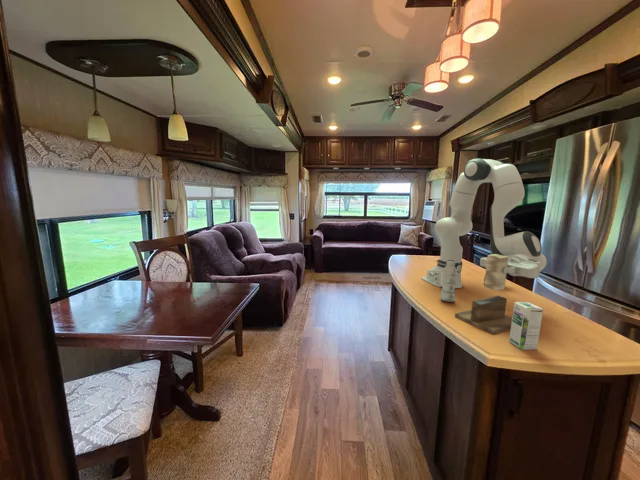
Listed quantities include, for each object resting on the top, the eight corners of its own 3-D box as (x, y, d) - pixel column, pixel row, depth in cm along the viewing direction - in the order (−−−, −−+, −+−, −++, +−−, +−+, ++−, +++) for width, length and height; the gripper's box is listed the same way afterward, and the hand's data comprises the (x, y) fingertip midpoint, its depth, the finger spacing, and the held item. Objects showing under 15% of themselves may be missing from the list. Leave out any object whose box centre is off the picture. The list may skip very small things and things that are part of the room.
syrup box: (508, 341, 95) (513, 301, 93) (523, 340, 95) (529, 301, 93) (521, 350, 89) (527, 308, 87) (538, 349, 90) (544, 308, 88)
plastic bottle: (456, 301, 132) (460, 260, 129) (452, 304, 127) (456, 263, 124) (442, 297, 136) (446, 258, 133) (438, 301, 131) (441, 260, 128)
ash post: (484, 286, 110) (487, 255, 108) (492, 285, 112) (495, 254, 110) (496, 290, 106) (500, 257, 104) (504, 288, 108) (508, 256, 106)
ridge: (454, 316, 114) (456, 296, 112) (483, 310, 121) (485, 290, 120) (492, 334, 100) (495, 311, 98) (522, 325, 107) (525, 303, 106)
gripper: (492, 252, 122) (471, 255, 116) (545, 263, 104) (524, 266, 98) (490, 266, 123) (470, 269, 117) (543, 279, 105) (521, 283, 99)
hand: (495, 268), depth 107 cm, fingers closed on ash post, 5 cm apart
